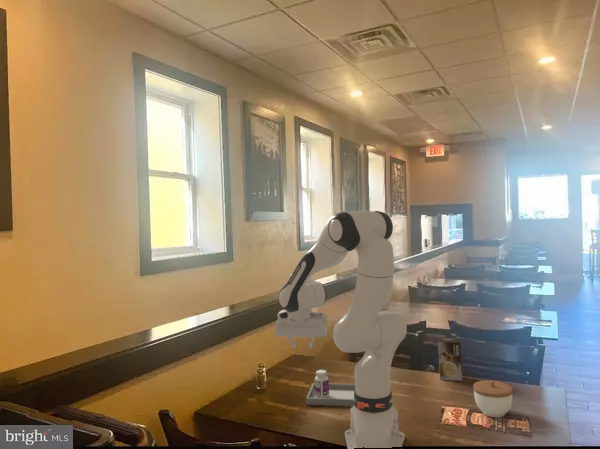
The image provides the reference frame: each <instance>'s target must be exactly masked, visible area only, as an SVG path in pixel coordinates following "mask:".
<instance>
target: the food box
mask: <svg viewBox="0 0 600 449" xmlns="http://www.w3.org/2000/svg"><path fill="white" fill-rule="evenodd" d="M437 340H438V341H437V343H438V344H437V346H438V349H437V350H438V366H439V368H438V369H439V371H438V372H439V380H440V381H458V382H459V381H460V382H463V380H464V379H463V364H462V362H463V361H462V348H461V345H462V344H461V338H448V337H447V338H446V337H445V338H443V337H441V338H440V337H438V338H437Z"/></svg>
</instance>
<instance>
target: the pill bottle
mask: <svg viewBox="0 0 600 449" xmlns="http://www.w3.org/2000/svg"><path fill="white" fill-rule="evenodd" d="M315 373H316V374H315V377H314V383H315V393H316V397H318V398H327V397H328V396H329V383H330V381H329V376H328V375H327V370H325V369H319V370H316V372H315Z"/></svg>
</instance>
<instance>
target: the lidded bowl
mask: <svg viewBox="0 0 600 449" xmlns="http://www.w3.org/2000/svg"><path fill="white" fill-rule="evenodd" d="M472 387H473V396H474V402H475V404H476V406H477V408H478V409H479V410H480V411H481V412H482V414H483V415H484V416H487V417H491V418H502V417H504V416H505V415H506V414H507V413H508V412H509V411H510V409H511V407H512V405H513V392H514V389H513V387H512V386H511V385H509V384H507V383H505V382H502V381H498V380H479V381H476V382H475V383H473V385H472Z"/></svg>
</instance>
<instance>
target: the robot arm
mask: <svg viewBox="0 0 600 449" xmlns="http://www.w3.org/2000/svg"><path fill="white" fill-rule="evenodd" d="M393 229H394V226H393V220H392V218H391V217H390V215H389V214H388V213H386V212H383V211H379V210H373V211H372V210H371V211H370V210H352V211H347V212H346V211H342V212H336V213H334V214H332V215H330V218H329V219H328V220H327V222H326V224H324V227H323V229H322V230H321V233H320V235H319V237H318V239H317V241H316V242H315V243H314V245H313V246H312V247H311V248H310V249H309V251H307V252H306V253H305V254H304V255H303V256H302V257H301V258H300V260H299V262H298V264H297V265H296V267H295V268H294V270H293V271H292V272H291V273H290V274H289V276H288V280H287V282H286V283H284V285H283V286H282V287H281V289H280V291H279V293H278V303H279V305H280V307H281V308H282V309H281V310H280V311H279V312H278V313H277V314H276V316H277V319H276V321H275V326H274V327H275V328H274V332H275V335H276V336H277V337H279V338H280V337H283V338H287V340H288V342H289V343H290V348H291V349H294V348H296V342H294V341H293V338H294V337H295V338H309V339H310V340H311V341H310V342H308V343H307V348H308V349H312V348H313V342H314V341H315V338H325V337H326V336H327V333H328V328H327V322H328V317H327V315H326V314H325V313H323V312H312V309H314V308H319V307H322V306H324V304H325V303H326V301H327V297H328V293H327V288H326V287H325V285H324V284H323V283H322V282H320V281H317V280H315V279H313V278H312V276H313V275H315V274H316V273H319V272H321V271H323V270H325V269H329V268H332V267H336V266H337V265H339V264H341V263H342V261H343V260H344V259H345V258H346V257H347V255H348V253H349V252H352V251H354V250H355V252H356V253H357V255H358V256H357V257H358V262H357V268H356V269H357V271H356V280H355V282H356V284H355V290H354V294H353V298H352V302H351V303H350V304H349V306H348V307H349V308H348V309H347V311H346V312H345V314H344V315H343V316H342V317H341V318H340V319H339V320H338V321H337V322H336V323H335V324H334V328H333V331H332V338H333V341H334V345H336V347H337V348H338V349H339V350H340V351H341V352H342V353H351V354H352V353H355V354H357V353H363V352H364V354H363V356H362V357H361V359H360V360H359V361H358V362H357V363H356V365H355V367H354V384H355V391H354V406H353V407H350V424H349V426H348V427H349V429H346V430H345V431H344V439H345V444H346V448H347V449H354V448H363V447H364V448H392V447H402V448H403V445H404V441H405V439H406V436H405V433H403V431H400V428H399V421H400V420H399V418H398V410H397V408H395V407H394V406H393V392H392V391H391V367H392V363H393V362H392V361H393V358H394V356H395V354H396V351H397V349H398V347H399V345H400V344H401V342H402V341H404V339H406V336H407V330H408V329H407V327H408V326H407V323H406V320H405V318H404V316H402V315H401V314H400V313H399V312H397V311H387V310H385V311H384V310H383V308H384V307H385V306H386V305H387V304H388V303H389V302H390V300H391V298H392V295H393V294H392V292H393V284H394V282H393V281H394V273H395V272H394V271H395V270H394V269H395V259H394V247H393V244H392V243H391V241H390V240H389V239H390V238H391V236H392V235H393ZM382 310H383V311H382Z"/></svg>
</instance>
